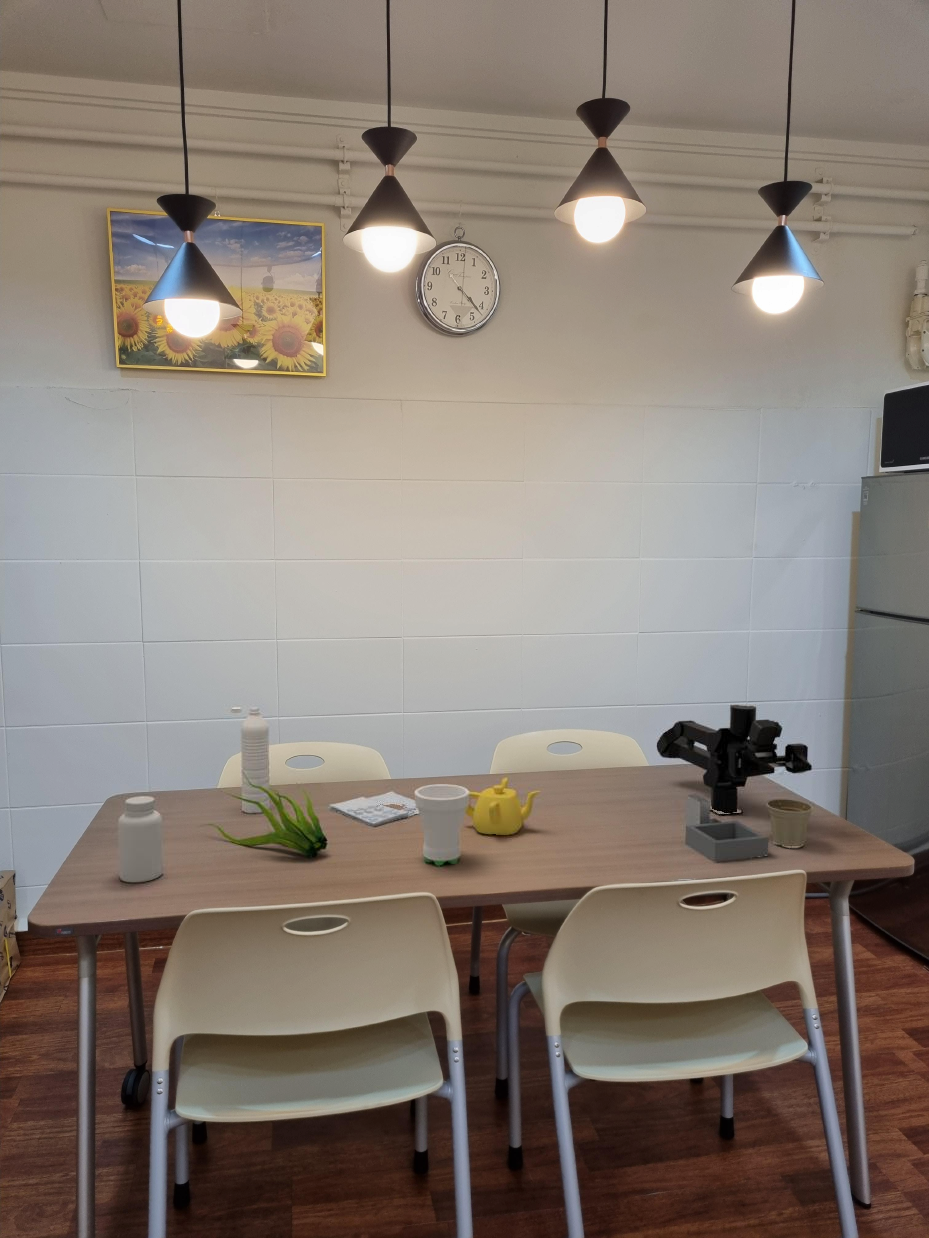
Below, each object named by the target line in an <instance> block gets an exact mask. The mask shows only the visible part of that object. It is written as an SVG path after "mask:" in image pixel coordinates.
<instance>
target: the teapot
mask: <svg viewBox="0 0 929 1238" xmlns="http://www.w3.org/2000/svg"><path fill="white" fill-rule="evenodd" d="M468 791H469V793H470V795H469V805H468V807H467V808H466V811H465V814H466V815H468V817H470V818H471V819H472V823H473V826H474V828H475V829H476V831H477V832H478V833H480V834H485V835H492V834H496V835H495V836H510V834H511V835H514V834H516V833H517V832H519V830H520V829H521V827H522V826H523V824H524V821H525V820H526V819H528V818H529V816H530V815H531V813H532V809H533V802H534V798H535V796H536V795H538V794H539V793H540V792H541V790H535V791H531V792H529V793H528V795H527V798H526V803H525V806H523V807H522V804H521V801H520V799H519V796H518V794H517V791H516V790H515V789H512V788H508V777H504V778H502V780H501V784H495V785H493V786H492V787H489V788H484V789H483V790H482V791H481V792H478V791H470V790H468ZM472 799H477V801H476V803H475V806H474V807H473V806H471V803H472Z"/></svg>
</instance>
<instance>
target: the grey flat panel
mask: <svg viewBox="0 0 929 1238" xmlns="http://www.w3.org/2000/svg"><path fill="white" fill-rule="evenodd" d="M380 804H381V805H380ZM382 804H383V805H390V804H395V805H396V804H397V805H400V806H404V807H403V808H405V807H407V808H405V809H402V810H397V809H394V808H390V807H386V806H383V805H382ZM328 806H329V807H328V810H331V809H332V810H331V811H333V810H335V811H337V812H336V813H338V812H339V813H338V814H340V813H341V815H343V814H344V815H343V816H345V815H347V816H346V817H349V818H351V819H353V818H354V819H353V820H356V821H358V822H360V823H362V824H365V825H368V826H370V827H373V828H374V827H377V826H381V825H384V824H387V822H388V823H392V822H395V821H398V820H397V819H399V820H402V819H401V818H403V819H406V818H405V817H407V818H409V816H411V815H414V814H418V815H420V814H419V810H418V808H417V806H416V805H415V799H413V798H412V799H411V798H409V797H406V796H404V795H403V794H402V795H401V794H398V793H396V792H394V791H393V790H392V791H389V792H386V793H383V794H380V795H375V796H370V797H364V796H361V797H360V796H359V797H357V798H354V799H353V798H352V799H349V800H345V801H342V802H337V803H332V804H328ZM405 810H406V811H405ZM408 810H409V811H408ZM335 811H334V812H335ZM394 820H395V821H394ZM391 821H392V822H391Z"/></svg>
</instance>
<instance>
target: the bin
mask: <svg viewBox="0 0 929 1238" xmlns="http://www.w3.org/2000/svg"><path fill="white" fill-rule="evenodd" d="M685 843H686V844H687V845H686V844H685V845H686V846H688V845H689V846H688V847H690V846H691V847H692V848H691V847H690V848H691V849H693V850H694V849H695V850H694V851H696V852H697V851H698V852H697V853H699V854H700V855H702V856H704V857H706V858H708V859H709V860H710V861H711V862H713V863H719V862H727V861H729V862H730V861H739V860H740V861H741V860H747V859H746V858H749V859H752V858H751V857H758V856H765V855H768V854H769V836H766V835H765V834H762V833H760V832H758V831H757V830H755V829H752V828H751V827H749V826H747V825H745V824H743V823H741V822H739V821H738V820H733V821H720V823H709V824H698V825H688V826H686V830H685ZM768 856H769V855H768ZM758 858H759V857H758Z"/></svg>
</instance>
